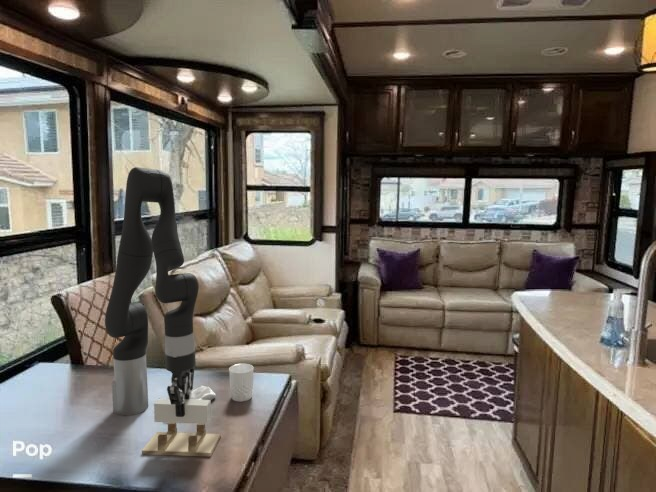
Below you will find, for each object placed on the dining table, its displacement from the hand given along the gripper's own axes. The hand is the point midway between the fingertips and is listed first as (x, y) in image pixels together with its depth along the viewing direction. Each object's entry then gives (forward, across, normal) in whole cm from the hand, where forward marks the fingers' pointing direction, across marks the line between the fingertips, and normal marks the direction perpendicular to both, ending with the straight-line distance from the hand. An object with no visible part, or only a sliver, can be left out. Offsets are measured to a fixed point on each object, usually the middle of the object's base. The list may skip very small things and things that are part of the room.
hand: (183, 412), depth 120 cm
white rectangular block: (+2, 0, 0) cm, 2 cm away
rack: (+9, 0, 0) cm, 9 cm away
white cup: (+10, -29, +9) cm, 32 cm away
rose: (+10, -27, -4) cm, 29 cm away
